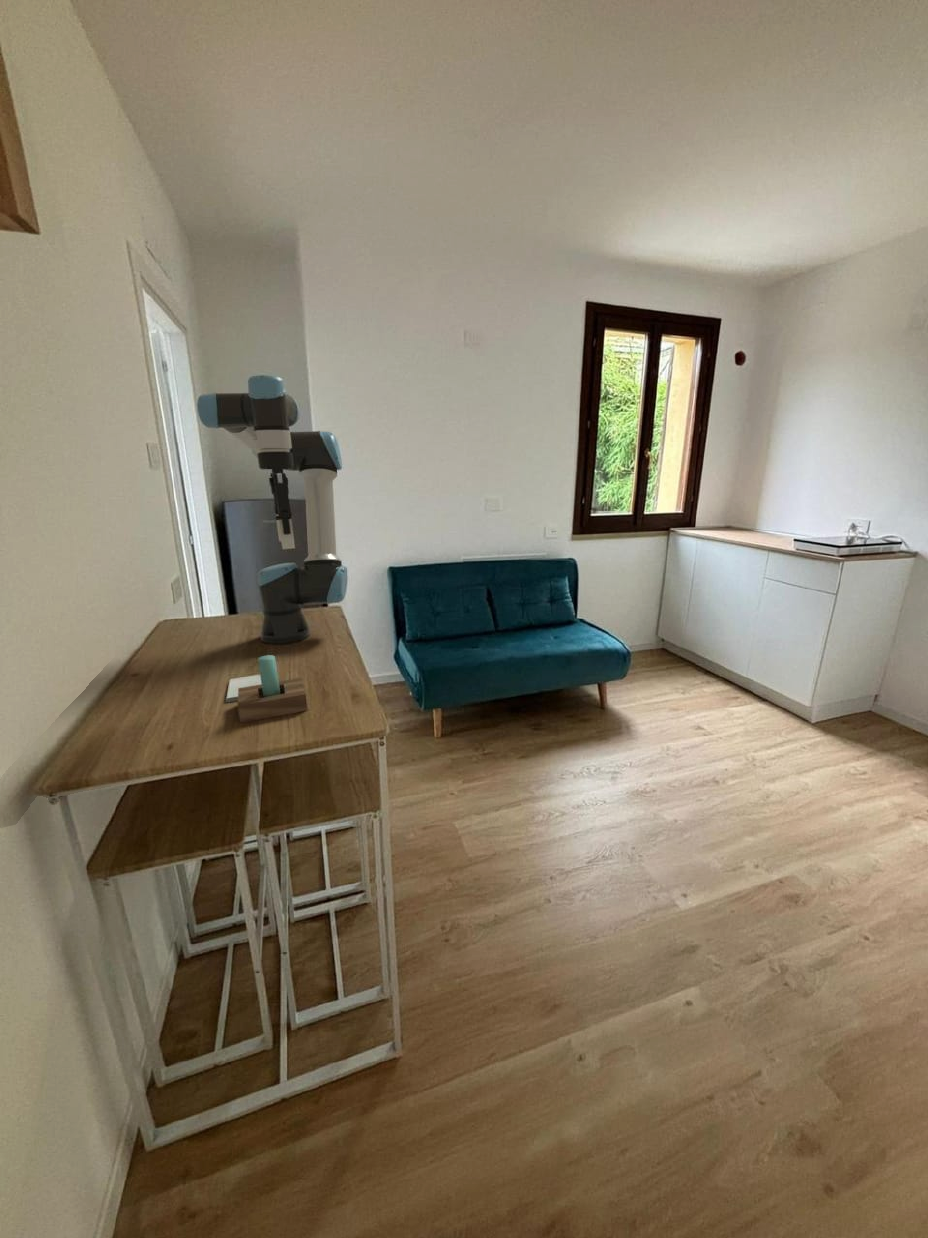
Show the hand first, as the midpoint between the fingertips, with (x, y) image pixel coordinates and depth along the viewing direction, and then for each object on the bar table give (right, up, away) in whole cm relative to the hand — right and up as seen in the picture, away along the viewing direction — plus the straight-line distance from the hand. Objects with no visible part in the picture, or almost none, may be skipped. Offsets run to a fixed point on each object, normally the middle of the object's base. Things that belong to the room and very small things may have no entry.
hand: (286, 544), depth 122 cm
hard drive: (-12, -36, +5) cm, 38 cm away
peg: (-1, -38, -5) cm, 38 cm away
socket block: (-1, -38, -5) cm, 38 cm away
